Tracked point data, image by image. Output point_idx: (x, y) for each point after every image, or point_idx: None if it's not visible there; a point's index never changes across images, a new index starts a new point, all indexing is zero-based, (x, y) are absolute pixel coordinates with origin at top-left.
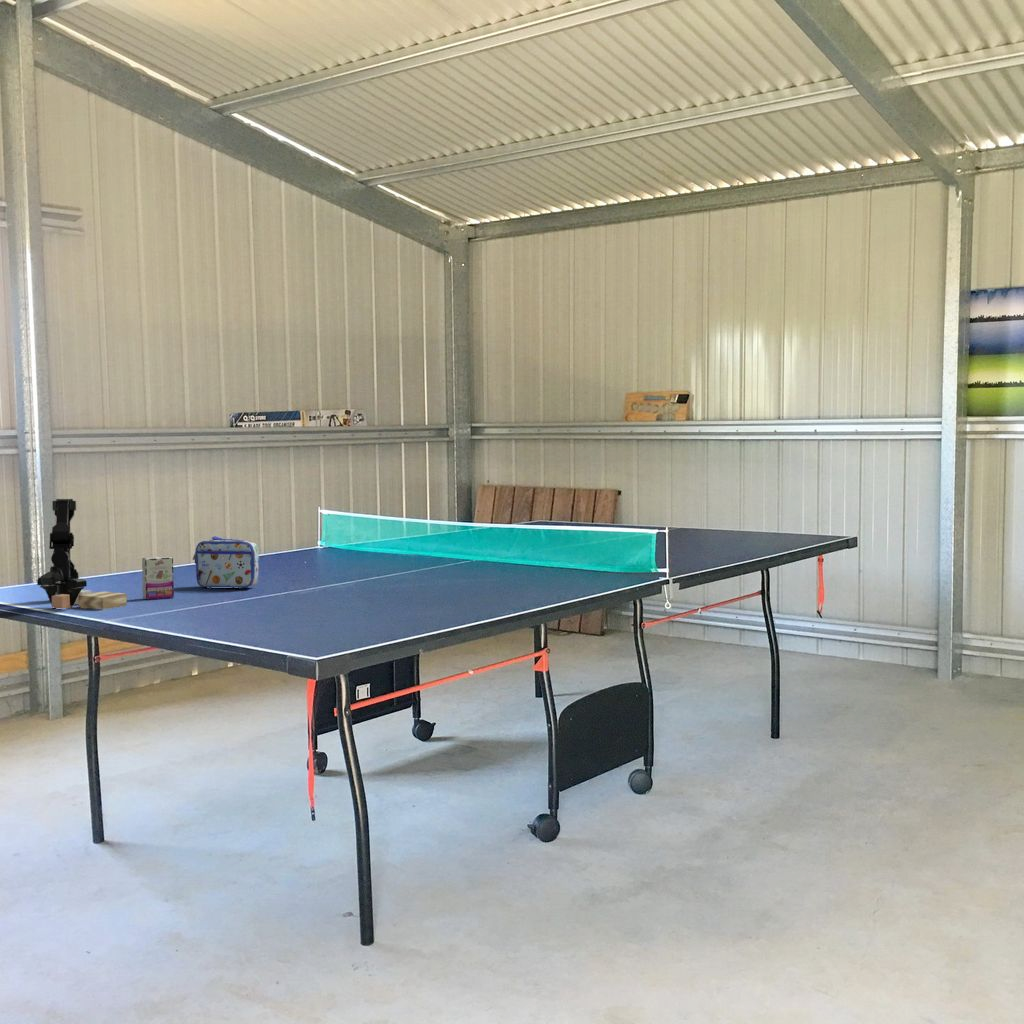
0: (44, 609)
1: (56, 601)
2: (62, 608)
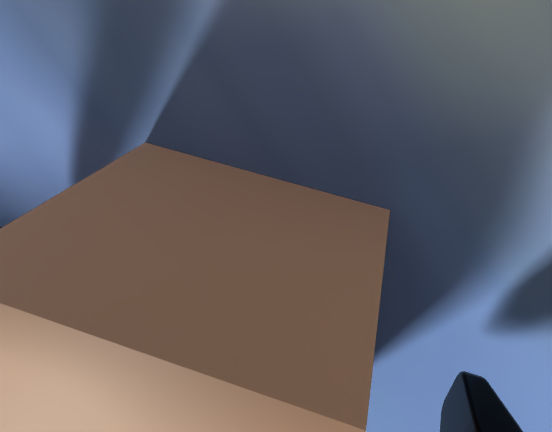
0: (517, 121)
1: (214, 253)
2: (131, 156)
